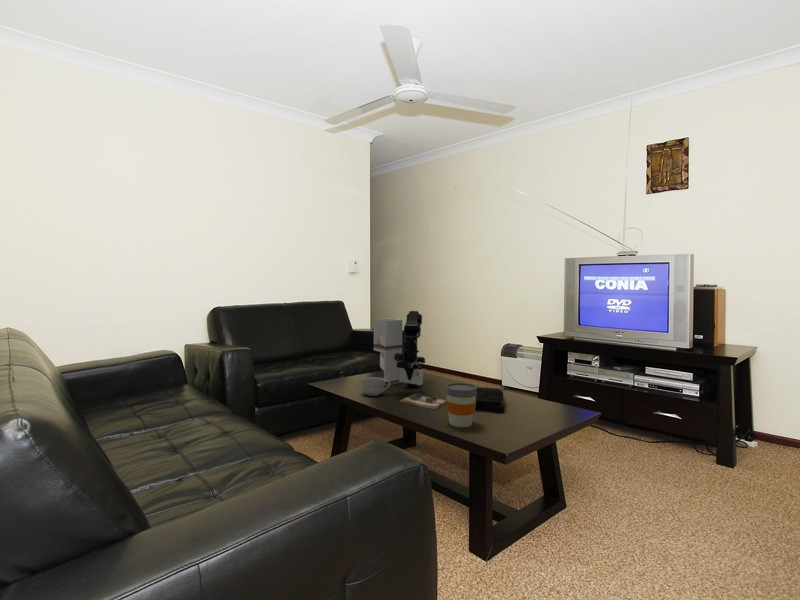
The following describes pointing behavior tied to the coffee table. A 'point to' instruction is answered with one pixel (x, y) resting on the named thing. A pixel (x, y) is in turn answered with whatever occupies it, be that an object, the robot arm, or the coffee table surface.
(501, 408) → the gaming console
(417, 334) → the robot arm
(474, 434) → the coffee table surface
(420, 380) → the door slab
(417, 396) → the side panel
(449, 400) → the reusable coffee cup
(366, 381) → the teacup
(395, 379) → the white stacked tower
